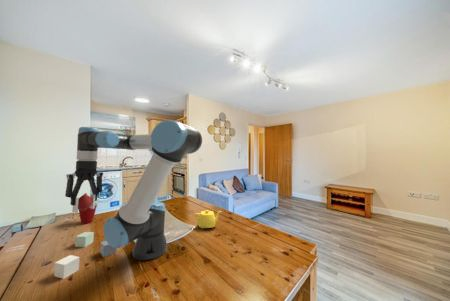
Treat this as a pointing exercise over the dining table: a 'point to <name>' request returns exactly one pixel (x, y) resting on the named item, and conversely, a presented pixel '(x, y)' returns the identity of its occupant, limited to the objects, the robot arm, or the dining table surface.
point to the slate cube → (106, 249)
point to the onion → (84, 202)
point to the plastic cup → (87, 215)
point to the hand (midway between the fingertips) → (83, 210)
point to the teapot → (207, 219)
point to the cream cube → (66, 266)
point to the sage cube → (84, 239)
